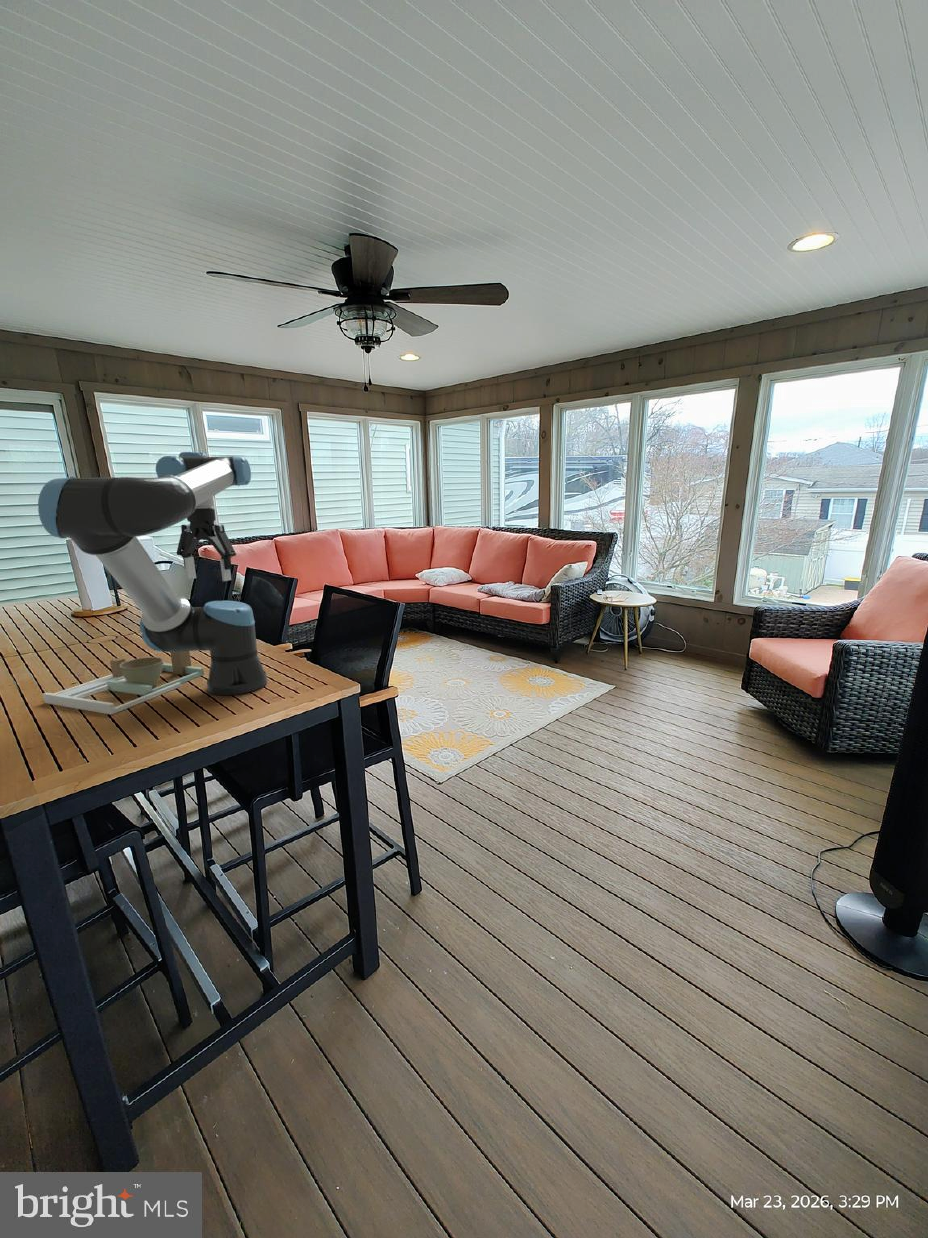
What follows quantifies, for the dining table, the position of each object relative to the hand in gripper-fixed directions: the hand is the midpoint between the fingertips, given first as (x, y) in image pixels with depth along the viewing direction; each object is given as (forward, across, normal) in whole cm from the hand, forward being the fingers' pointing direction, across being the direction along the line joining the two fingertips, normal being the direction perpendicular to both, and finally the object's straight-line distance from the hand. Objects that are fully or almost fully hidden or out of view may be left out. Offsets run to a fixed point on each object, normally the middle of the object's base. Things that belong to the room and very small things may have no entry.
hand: (209, 579), depth 153 cm
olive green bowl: (+27, +4, +22) cm, 35 cm away
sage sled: (+27, +4, +18) cm, 33 cm away
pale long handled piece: (+27, +17, +28) cm, 42 cm away
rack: (+27, +8, +28) cm, 40 cm away
